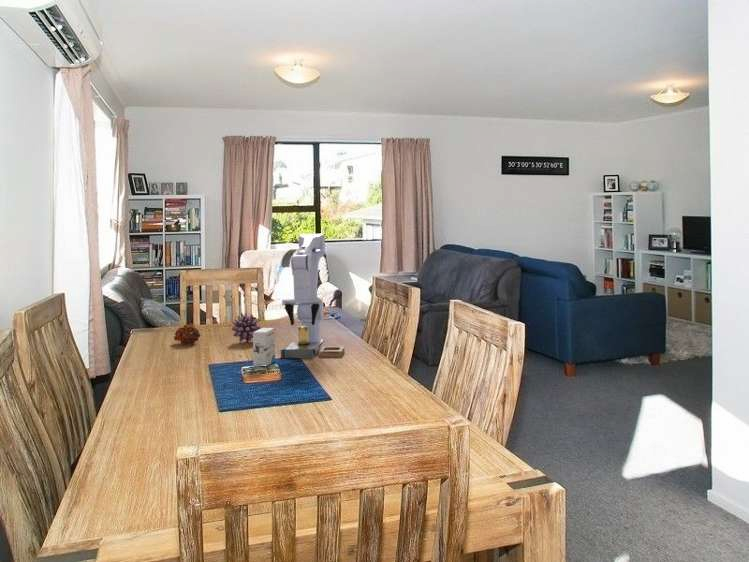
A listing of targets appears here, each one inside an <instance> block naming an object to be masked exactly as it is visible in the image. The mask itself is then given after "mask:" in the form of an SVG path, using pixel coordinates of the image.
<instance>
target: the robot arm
mask: <svg viewBox="0 0 749 562" xmlns="http://www.w3.org/2000/svg"><path fill="white" fill-rule="evenodd" d="M325 244H326V240H325V234H323V233H312V234H311V233H310V234H309V233H307V234H306V233H305V234H304V233H300V234H299V236H298V249H297V250H296V253H295V254H294V255H293V256H291V258H290V267H291V273H292V276H293V277H292V278H293V298H291V299H282V300H281V305H282V306H284V309H285V312H286V313H287V315H288V318H289V321H290V325H291V326H294V325H295V316H294V311H295V309H294V308H295V306H297V308H296V317H297V319H298V321H300V323H301V326H308V342H319V346H320V345H321V344H322V343H323V342H324V339H322V334H321V333H322V329H321V326H322V325H321V321H322V320H323V319H324V317H325V316H324V315H325V314H324V313H325V311H324V302H323V299H322V298H320V297H318V282H319V281H318V280H319V279H318V277H319V264H320V258H321V259H322V257H324V256H325V249H326V248H325V247H326V245H325Z"/></svg>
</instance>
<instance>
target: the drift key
mask: <svg viewBox="0 0 749 562" xmlns="http://www.w3.org/2000/svg"><path fill="white" fill-rule="evenodd" d="M285 349H286V347H282V348H281V349H280V358H285Z"/></svg>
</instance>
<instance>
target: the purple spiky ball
mask: <svg viewBox="0 0 749 562" xmlns="http://www.w3.org/2000/svg"><path fill="white" fill-rule="evenodd" d="M233 320H234V321H232V324H233V325H234V326H231V330H232V331H234V334H232V335H233V338H234V337H236V338H238V337H239V339H238V340H239V341H240V342H243V340H245V341H246V343H249V342H251V341H252V339H253V332H255V331H257V330H259V329H261V328H262V326H260V325H258V322H259V320H260V318H254V315H253V314H252V313H250V314H249V315H247V313H246V312H245V313H244V314H243V313H242V314H241V316H240V315H237V318H235V319H233Z"/></svg>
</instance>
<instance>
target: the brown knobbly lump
mask: <svg viewBox="0 0 749 562" xmlns="http://www.w3.org/2000/svg"><path fill="white" fill-rule="evenodd" d="M174 335H175V336H173V339H174V341H177V342H180V344H182V345H183V344H184V345H186V344H187V345H193V344H194V343H195V342H198V340H199V338H200V337H201V334H200V331H199V330H198V328H196V327H195V325H193V324H191V323H190V324H184V325H183V326H182V327H179V328H178V329H177V330H176V331H175V333H174ZM185 343H186V344H185ZM192 343H193V344H192Z"/></svg>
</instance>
